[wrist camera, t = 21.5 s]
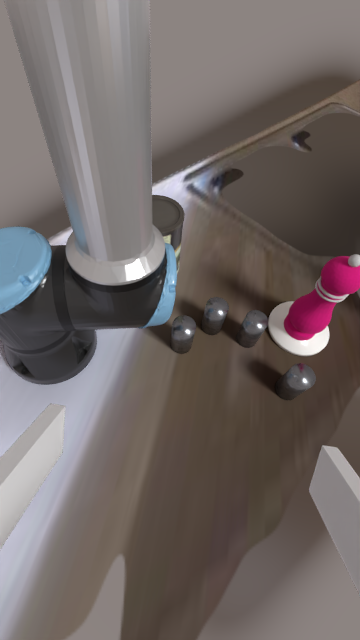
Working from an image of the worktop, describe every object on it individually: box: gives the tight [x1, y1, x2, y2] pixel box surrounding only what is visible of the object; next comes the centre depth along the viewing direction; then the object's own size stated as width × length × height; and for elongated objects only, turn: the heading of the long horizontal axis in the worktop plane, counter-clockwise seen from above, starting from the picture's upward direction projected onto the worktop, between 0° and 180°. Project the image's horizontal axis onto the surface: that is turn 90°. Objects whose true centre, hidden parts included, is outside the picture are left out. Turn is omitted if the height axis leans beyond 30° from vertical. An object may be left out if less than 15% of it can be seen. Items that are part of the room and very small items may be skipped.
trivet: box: [268, 302, 329, 357], centre depth 59 cm, size 12×12×1 cm
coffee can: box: [152, 195, 184, 272], centre depth 59 cm, size 10×10×14 cm
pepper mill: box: [284, 255, 360, 341], centre depth 50 cm, size 7×7×20 cm
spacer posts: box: [171, 297, 316, 400], centre depth 51 cm, size 20×18×7 cm
